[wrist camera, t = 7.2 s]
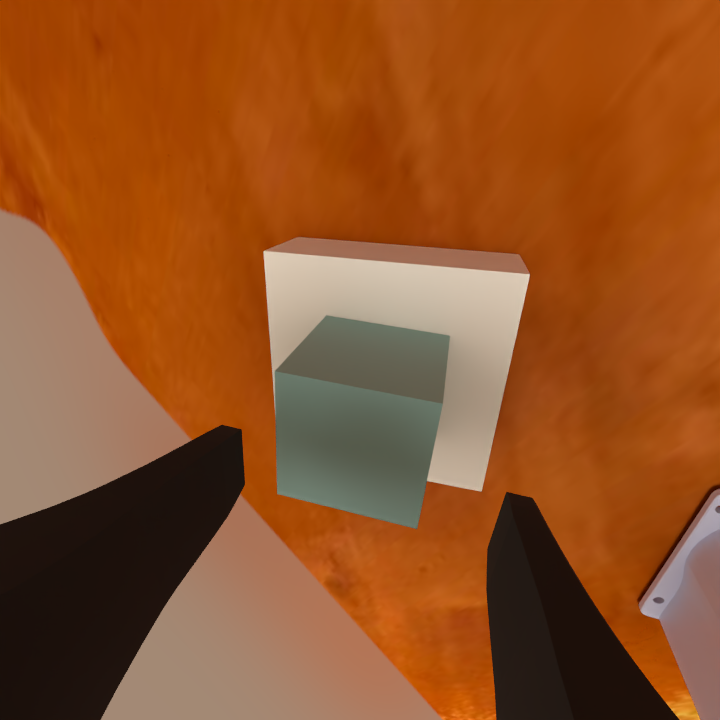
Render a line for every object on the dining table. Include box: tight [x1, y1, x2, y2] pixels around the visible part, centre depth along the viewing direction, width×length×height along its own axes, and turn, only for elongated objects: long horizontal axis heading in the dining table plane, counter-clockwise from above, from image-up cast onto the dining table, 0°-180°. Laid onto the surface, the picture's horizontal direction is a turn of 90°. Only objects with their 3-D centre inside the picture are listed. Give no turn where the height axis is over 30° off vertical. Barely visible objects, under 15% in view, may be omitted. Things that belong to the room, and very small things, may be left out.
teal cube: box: [275, 315, 450, 529], centre depth 15 cm, size 5×5×5 cm
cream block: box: [264, 237, 530, 492], centre depth 19 cm, size 10×10×4 cm
